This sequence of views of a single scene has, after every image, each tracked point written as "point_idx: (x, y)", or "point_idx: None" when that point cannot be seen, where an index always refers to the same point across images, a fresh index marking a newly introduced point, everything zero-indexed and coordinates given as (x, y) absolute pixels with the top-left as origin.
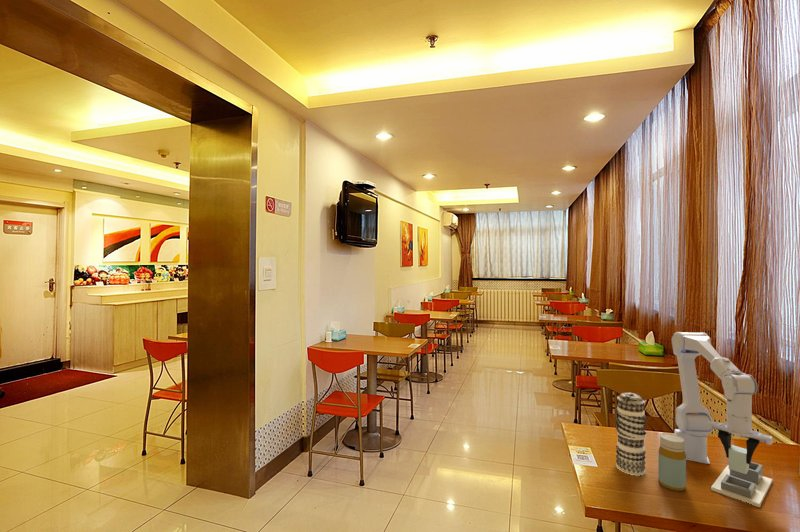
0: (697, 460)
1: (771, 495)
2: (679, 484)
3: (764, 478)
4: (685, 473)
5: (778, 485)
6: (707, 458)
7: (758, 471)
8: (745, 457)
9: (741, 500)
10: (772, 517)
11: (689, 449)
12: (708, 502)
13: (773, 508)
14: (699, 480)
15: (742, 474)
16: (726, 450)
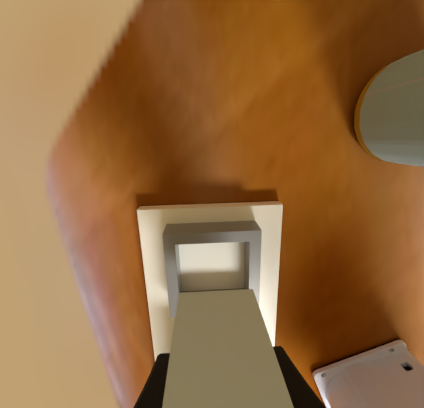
0: (347, 364)
1: (141, 316)
2: (391, 68)
3: None
4: (411, 102)
5: None
6: (324, 398)
7: None
8: (169, 387)
9: (190, 204)
10: (94, 169)
11: (395, 393)
12: (268, 90)
13: (112, 237)
14: (320, 241)
15: None
16: (304, 393)
